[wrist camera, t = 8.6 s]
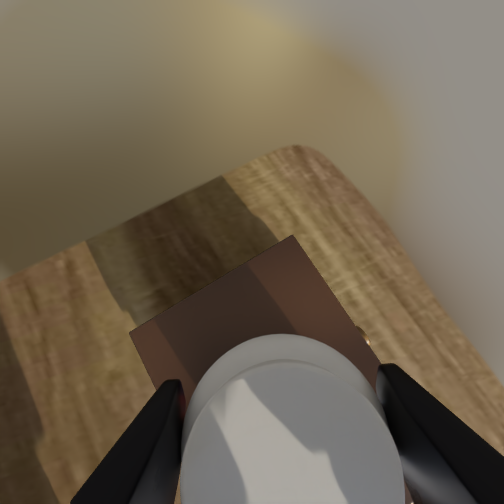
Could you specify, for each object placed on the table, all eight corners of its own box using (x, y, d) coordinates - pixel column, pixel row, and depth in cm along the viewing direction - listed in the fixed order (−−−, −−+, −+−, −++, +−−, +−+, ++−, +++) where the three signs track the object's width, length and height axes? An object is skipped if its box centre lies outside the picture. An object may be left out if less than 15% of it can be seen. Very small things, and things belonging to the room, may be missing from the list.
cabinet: (422, 436, 19) (469, 463, 14) (264, 547, 18) (262, 613, 13) (297, 251, 22) (304, 226, 18) (157, 336, 21) (128, 332, 17)
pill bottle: (197, 379, 16) (92, 414, 6) (296, 319, 16) (334, 274, 7) (255, 499, 14) (230, 772, 5) (362, 429, 15) (522, 556, 5)
